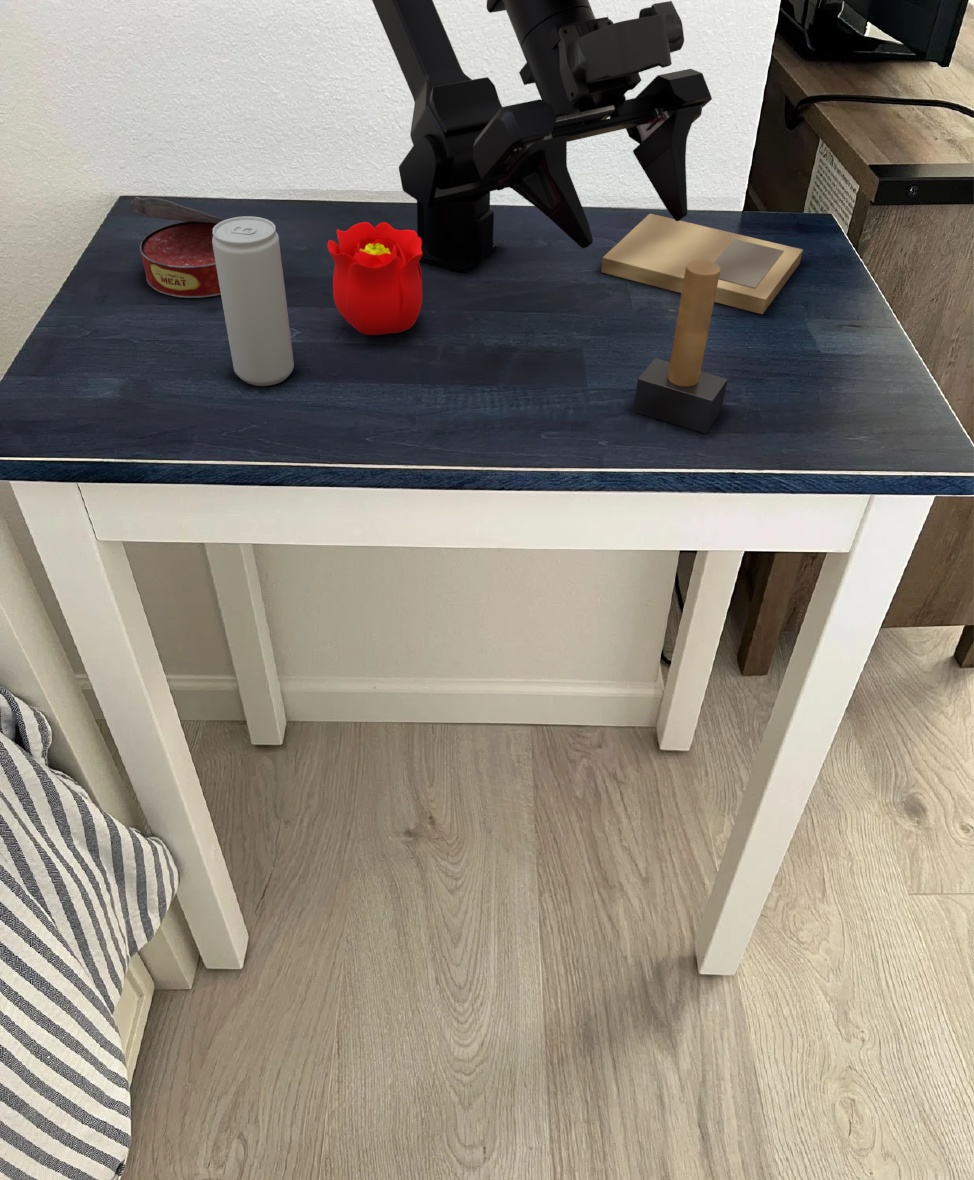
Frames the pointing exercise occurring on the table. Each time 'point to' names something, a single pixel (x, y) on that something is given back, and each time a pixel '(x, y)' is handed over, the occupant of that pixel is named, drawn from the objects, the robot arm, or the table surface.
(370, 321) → the flower
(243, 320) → the beverage can
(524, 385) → the table surface
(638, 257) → the cutting board
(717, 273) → the hammer
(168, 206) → the canned food
